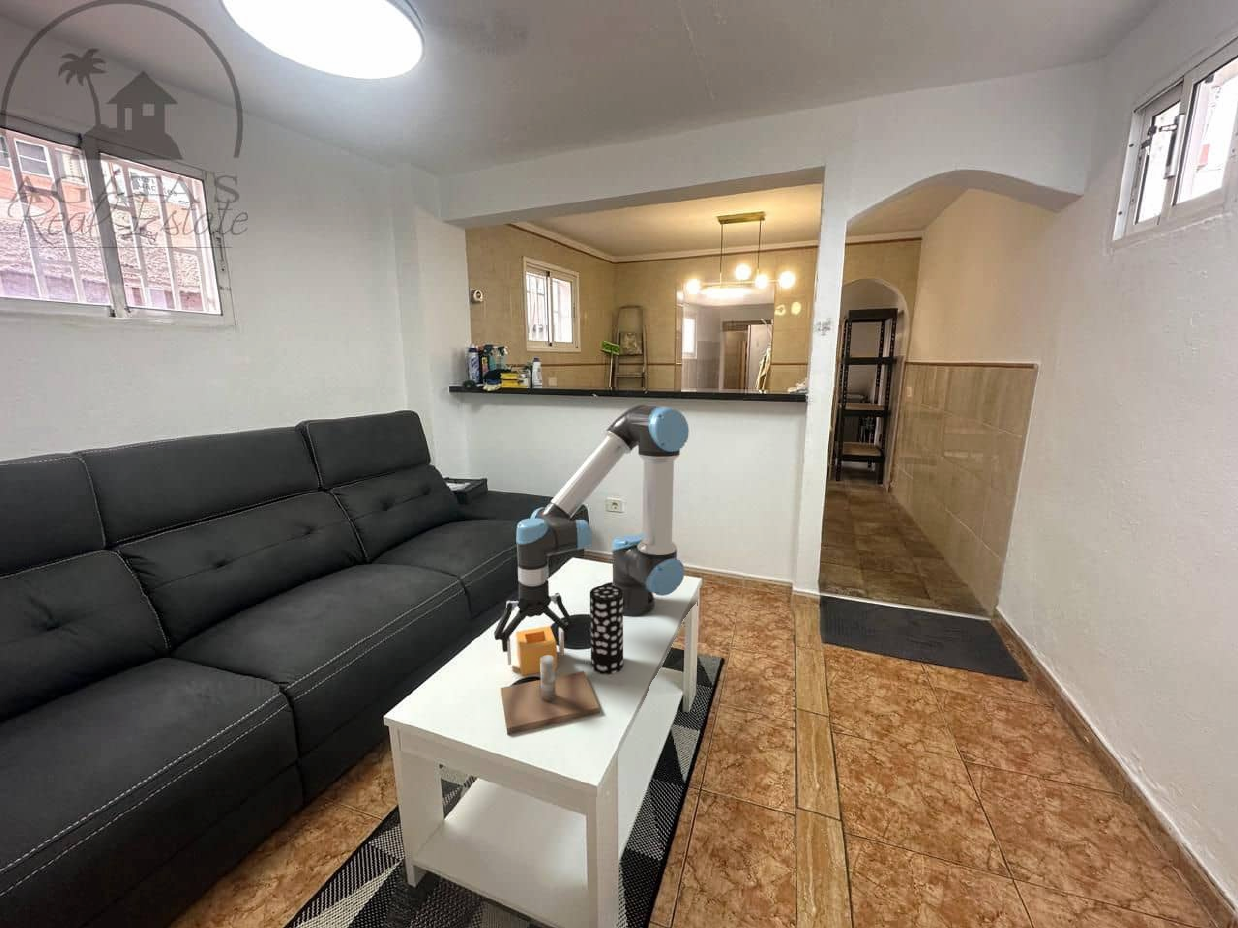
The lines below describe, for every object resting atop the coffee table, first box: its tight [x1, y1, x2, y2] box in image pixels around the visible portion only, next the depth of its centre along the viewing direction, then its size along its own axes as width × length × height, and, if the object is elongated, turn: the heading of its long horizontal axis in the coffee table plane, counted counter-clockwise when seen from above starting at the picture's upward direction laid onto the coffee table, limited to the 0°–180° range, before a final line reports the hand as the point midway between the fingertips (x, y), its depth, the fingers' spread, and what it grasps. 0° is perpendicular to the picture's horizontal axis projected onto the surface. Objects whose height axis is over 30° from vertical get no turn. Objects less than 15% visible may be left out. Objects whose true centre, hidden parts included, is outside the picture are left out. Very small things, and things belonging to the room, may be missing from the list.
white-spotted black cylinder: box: [589, 584, 624, 675], centre depth 124 cm, size 8×8×20 cm
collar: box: [515, 625, 558, 676], centre depth 127 cm, size 9×9×7 cm
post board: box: [500, 655, 600, 736], centre depth 110 cm, size 20×14×11 cm
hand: (535, 657), depth 127 cm, fingers open, 13 cm apart
